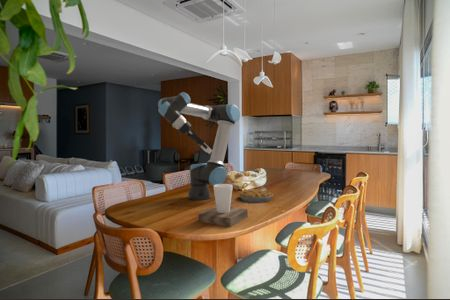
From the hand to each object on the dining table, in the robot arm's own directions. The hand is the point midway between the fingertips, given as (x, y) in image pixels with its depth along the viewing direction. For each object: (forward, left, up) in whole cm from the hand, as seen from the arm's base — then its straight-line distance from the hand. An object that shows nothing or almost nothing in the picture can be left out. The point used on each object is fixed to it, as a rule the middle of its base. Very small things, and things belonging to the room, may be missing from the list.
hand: (209, 151), depth 164 cm
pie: (+13, +35, -33) cm, 50 cm away
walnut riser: (+17, -14, -33) cm, 40 cm away
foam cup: (+17, -14, -29) cm, 37 cm away
